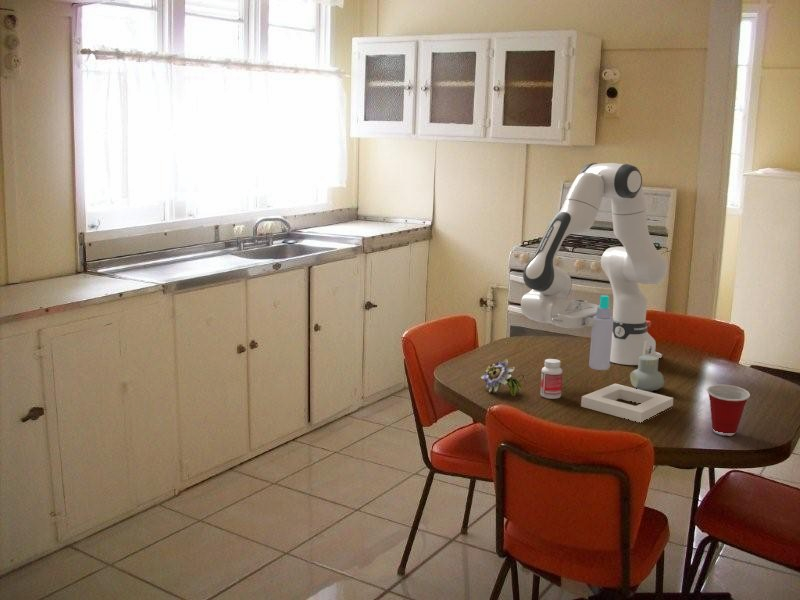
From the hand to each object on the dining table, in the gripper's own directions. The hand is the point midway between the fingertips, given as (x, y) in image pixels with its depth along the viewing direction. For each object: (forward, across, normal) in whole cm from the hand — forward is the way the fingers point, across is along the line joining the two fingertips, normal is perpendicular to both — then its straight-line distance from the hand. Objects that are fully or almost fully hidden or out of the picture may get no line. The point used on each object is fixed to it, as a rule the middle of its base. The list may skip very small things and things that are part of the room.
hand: (607, 321), depth 259 cm
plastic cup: (+40, -4, +23) cm, 46 cm away
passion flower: (-23, -19, +23) cm, 38 cm away
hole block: (+11, -4, +23) cm, 26 cm away
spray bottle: (-1, -1, +14) cm, 15 cm away
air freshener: (+6, +17, +23) cm, 29 cm away
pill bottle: (-10, -12, +23) cm, 28 cm away
